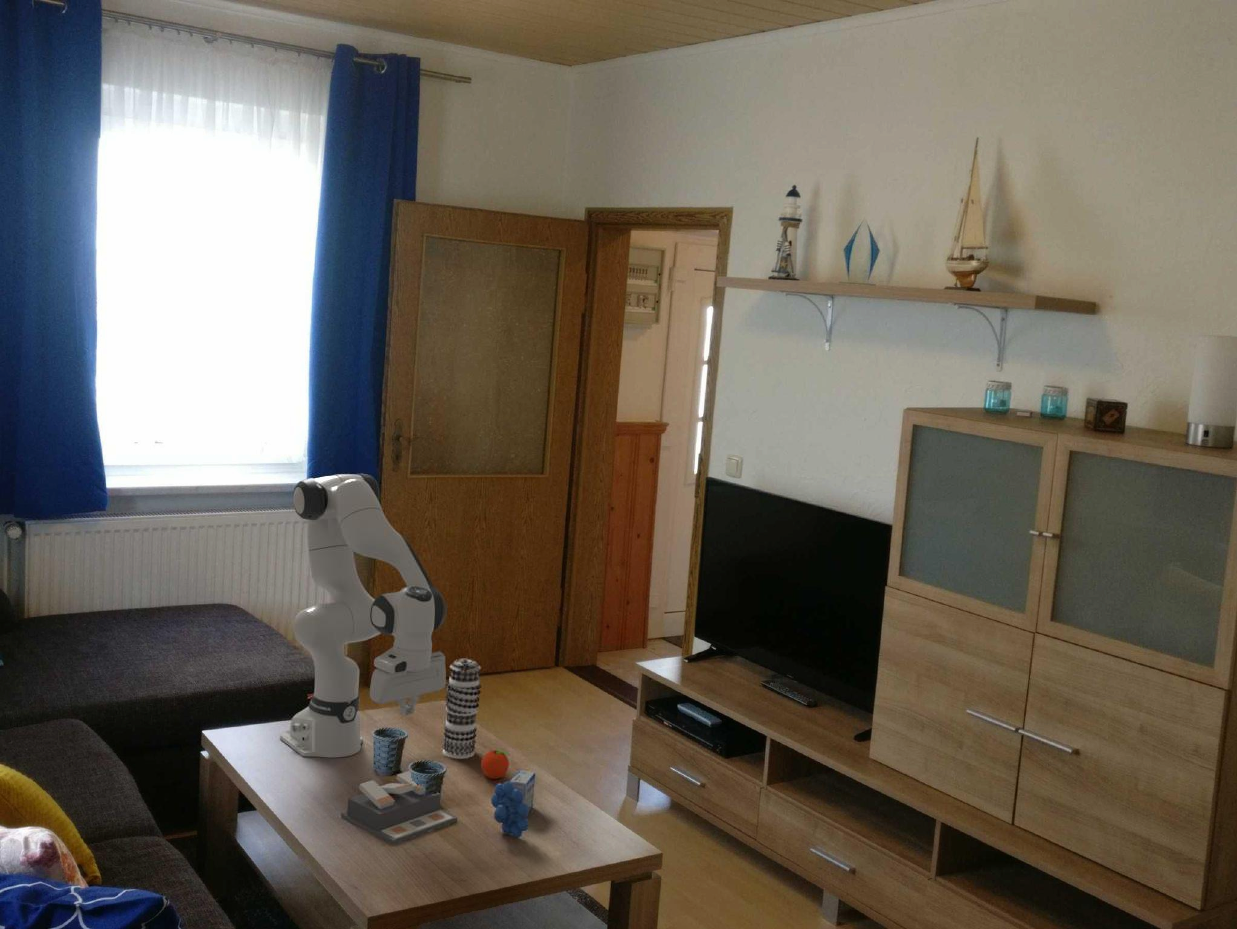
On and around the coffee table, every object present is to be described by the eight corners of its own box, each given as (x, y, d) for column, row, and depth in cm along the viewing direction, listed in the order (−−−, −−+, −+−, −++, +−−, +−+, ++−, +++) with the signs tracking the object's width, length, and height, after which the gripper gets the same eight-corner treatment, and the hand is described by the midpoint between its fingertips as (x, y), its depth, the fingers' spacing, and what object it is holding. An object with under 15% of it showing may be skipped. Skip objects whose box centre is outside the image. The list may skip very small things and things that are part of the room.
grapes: (476, 830, 275) (480, 779, 274) (498, 822, 280) (502, 773, 279) (512, 848, 268) (516, 796, 266) (533, 840, 273) (538, 789, 271)
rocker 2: (378, 792, 278) (377, 786, 279) (391, 788, 281) (390, 782, 281) (400, 793, 273) (400, 787, 273) (413, 789, 276) (413, 783, 276)
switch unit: (340, 817, 275) (342, 796, 275) (405, 796, 290) (406, 776, 289) (392, 844, 264) (394, 823, 263) (457, 821, 279) (458, 800, 278)
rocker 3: (396, 779, 283) (397, 774, 282) (408, 775, 286) (409, 770, 285) (418, 794, 278) (419, 789, 278) (431, 790, 281) (432, 785, 281)
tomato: (508, 771, 311) (510, 745, 310) (514, 782, 305) (516, 755, 304) (477, 772, 309) (479, 746, 308) (483, 783, 302) (485, 756, 301)
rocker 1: (358, 788, 274) (360, 783, 274) (372, 784, 277) (373, 779, 277) (380, 809, 270) (381, 804, 269) (393, 804, 273) (394, 799, 272)
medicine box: (524, 819, 283) (527, 784, 282) (505, 816, 284) (508, 780, 283) (533, 806, 291) (536, 772, 290) (515, 803, 292) (518, 769, 291)
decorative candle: (453, 761, 314) (461, 668, 311) (434, 750, 321) (441, 658, 318) (482, 755, 320) (490, 664, 317) (463, 744, 327) (470, 654, 324)
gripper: (436, 646, 291) (431, 701, 293) (368, 660, 276) (363, 718, 278) (454, 653, 287) (448, 709, 289) (386, 668, 272) (380, 727, 274)
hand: (406, 714), depth 283 cm, fingers closed
